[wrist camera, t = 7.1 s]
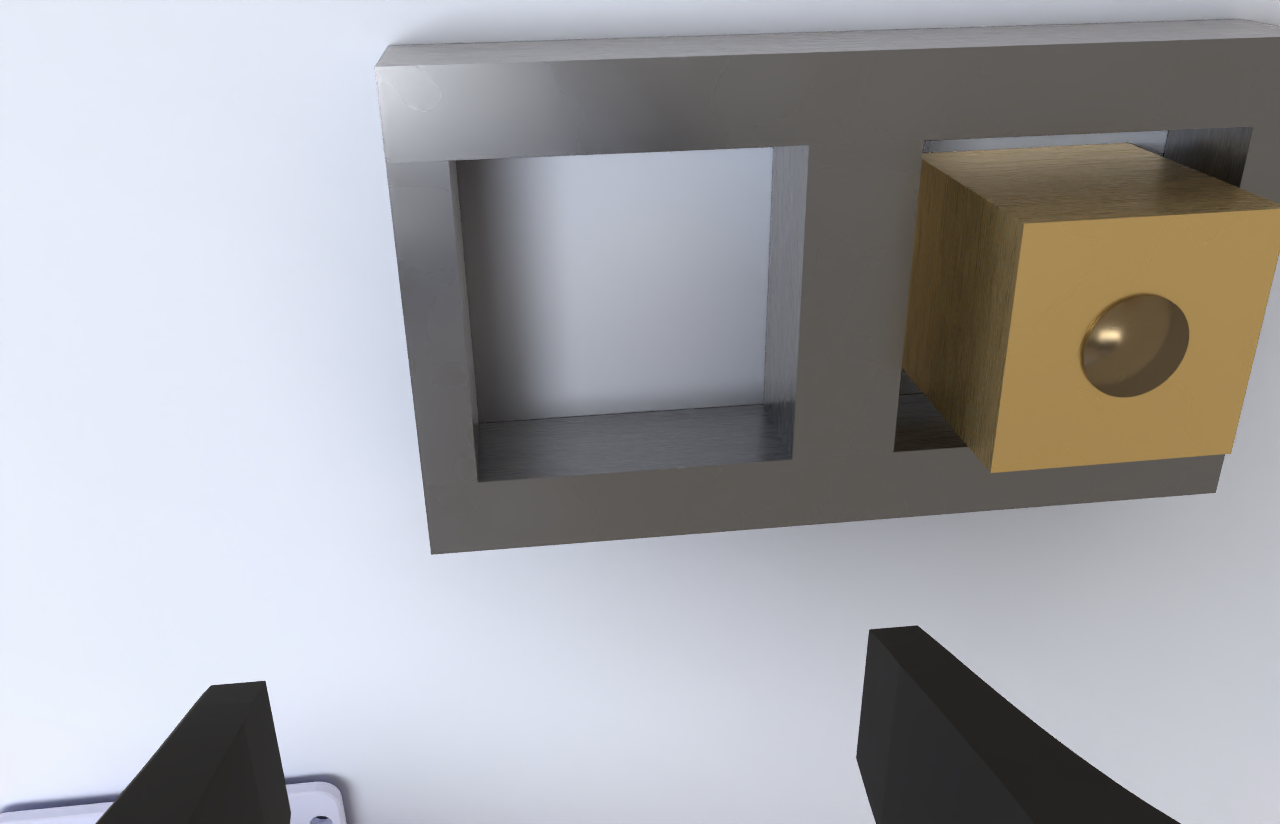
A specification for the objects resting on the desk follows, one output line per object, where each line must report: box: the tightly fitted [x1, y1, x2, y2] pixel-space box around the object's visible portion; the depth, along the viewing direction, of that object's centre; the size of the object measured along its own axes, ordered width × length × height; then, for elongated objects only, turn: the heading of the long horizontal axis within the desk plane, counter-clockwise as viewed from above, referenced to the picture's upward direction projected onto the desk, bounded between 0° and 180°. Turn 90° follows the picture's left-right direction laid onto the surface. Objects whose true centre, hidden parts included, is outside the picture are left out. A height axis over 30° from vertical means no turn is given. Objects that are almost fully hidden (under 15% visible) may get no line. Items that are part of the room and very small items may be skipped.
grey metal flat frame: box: [375, 19, 1280, 555], centre depth 21 cm, size 9×16×2 cm, turn 91°
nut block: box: [902, 143, 1280, 473], centre depth 20 cm, size 4×4×5 cm
